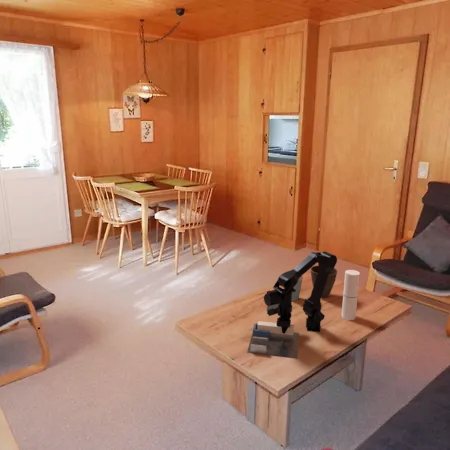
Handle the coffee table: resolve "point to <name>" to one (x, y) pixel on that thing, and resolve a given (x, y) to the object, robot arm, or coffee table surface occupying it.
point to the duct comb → (273, 343)
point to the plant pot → (329, 281)
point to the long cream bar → (274, 328)
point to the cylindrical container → (350, 294)
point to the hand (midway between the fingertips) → (284, 331)
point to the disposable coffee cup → (297, 289)
